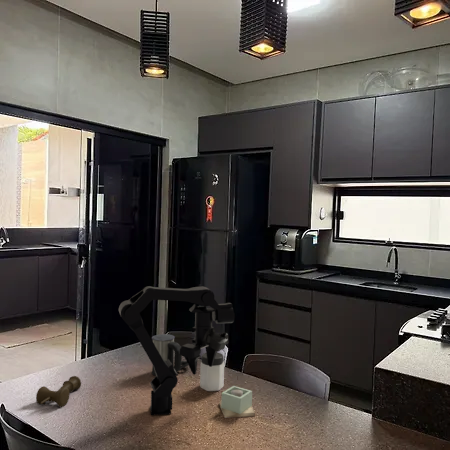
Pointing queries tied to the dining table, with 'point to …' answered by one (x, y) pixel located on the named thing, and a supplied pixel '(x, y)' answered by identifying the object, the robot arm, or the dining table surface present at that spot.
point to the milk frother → (169, 351)
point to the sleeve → (236, 400)
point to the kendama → (58, 392)
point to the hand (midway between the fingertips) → (202, 370)
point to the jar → (212, 373)
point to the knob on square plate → (233, 414)
